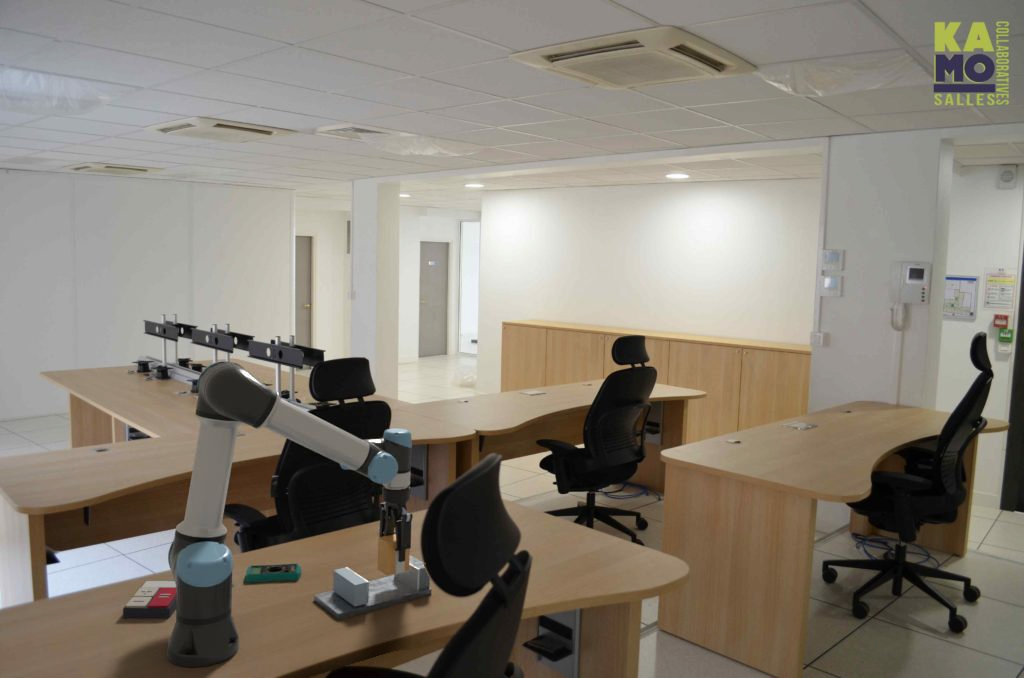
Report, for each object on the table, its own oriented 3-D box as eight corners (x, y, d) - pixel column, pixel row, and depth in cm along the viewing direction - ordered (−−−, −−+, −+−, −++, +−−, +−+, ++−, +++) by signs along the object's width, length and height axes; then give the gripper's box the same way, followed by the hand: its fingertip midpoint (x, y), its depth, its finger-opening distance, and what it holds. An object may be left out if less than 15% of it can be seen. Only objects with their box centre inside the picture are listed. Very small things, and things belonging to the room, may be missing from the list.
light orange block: (386, 575, 204) (387, 542, 203) (377, 569, 207) (378, 537, 207) (408, 570, 208) (410, 538, 207) (399, 564, 212) (400, 533, 211)
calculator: (122, 605, 185) (144, 578, 200) (122, 622, 186) (145, 594, 201) (169, 605, 187) (188, 578, 201) (169, 622, 187) (188, 594, 202)
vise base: (338, 619, 190) (339, 590, 190) (313, 600, 201) (314, 572, 200) (431, 594, 208) (432, 567, 208) (404, 577, 219) (405, 552, 218)
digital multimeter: (300, 581, 214) (300, 571, 213) (245, 584, 210) (245, 574, 210) (301, 571, 221) (301, 562, 221) (247, 574, 217) (247, 564, 217)
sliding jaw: (354, 606, 194) (355, 585, 194) (333, 590, 203) (333, 570, 203) (368, 602, 197) (369, 581, 196) (346, 587, 206) (347, 566, 205)
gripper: (426, 491, 202) (423, 576, 203) (391, 476, 215) (388, 556, 217) (402, 496, 197) (399, 582, 199) (367, 480, 211) (365, 561, 212)
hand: (394, 568), depth 208 cm, fingers closed on light orange block, 5 cm apart
